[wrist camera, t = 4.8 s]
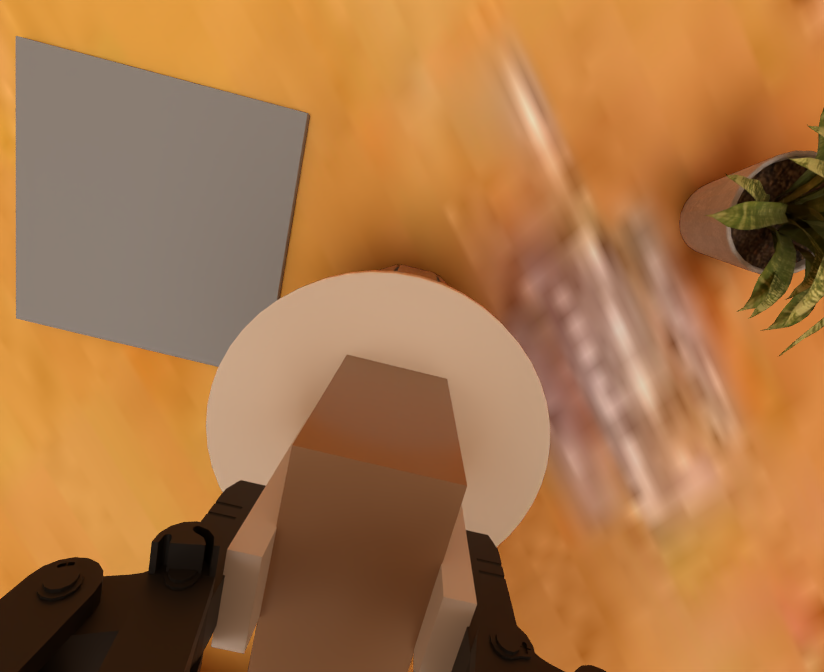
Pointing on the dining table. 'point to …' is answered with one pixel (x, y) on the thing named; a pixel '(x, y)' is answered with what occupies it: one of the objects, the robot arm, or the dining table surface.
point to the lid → (373, 456)
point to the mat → (148, 203)
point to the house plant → (767, 229)
